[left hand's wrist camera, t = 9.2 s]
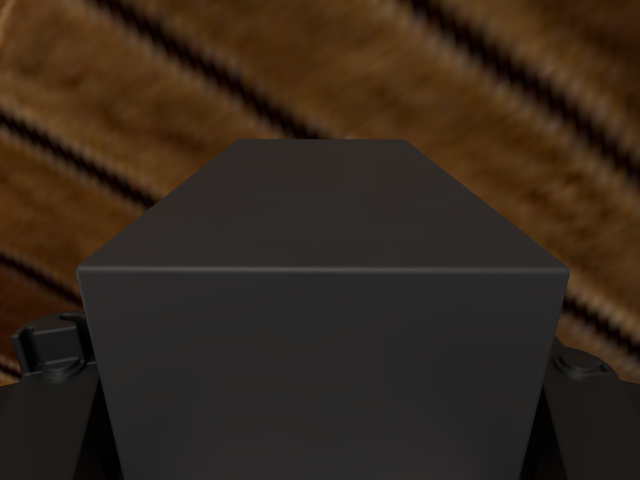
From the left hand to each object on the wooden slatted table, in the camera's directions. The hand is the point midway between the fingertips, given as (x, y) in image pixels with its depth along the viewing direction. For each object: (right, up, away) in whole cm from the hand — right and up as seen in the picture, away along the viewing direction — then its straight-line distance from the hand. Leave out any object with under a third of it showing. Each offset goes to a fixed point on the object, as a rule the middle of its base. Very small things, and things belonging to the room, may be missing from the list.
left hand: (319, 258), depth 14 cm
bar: (0, -7, +3) cm, 8 cm away
